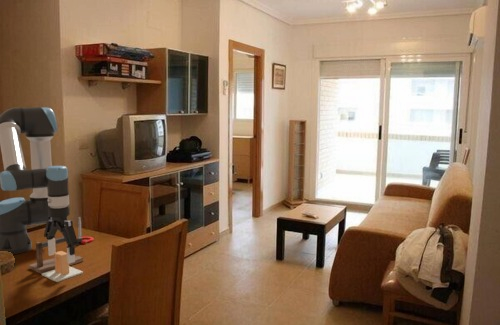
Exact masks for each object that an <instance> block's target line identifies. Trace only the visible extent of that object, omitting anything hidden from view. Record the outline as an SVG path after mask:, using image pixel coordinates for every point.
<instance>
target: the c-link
mask: <svg viewBox="0 0 500 325" xmlns="http://www.w3.org/2000/svg"><path fill="white" fill-rule="evenodd" d="M53 258H55V272H56V273H59V272H60V273H61V275H65V274H68V273H69V264H68V262H67V251H63V250H59V251H56V253H54V255H53Z"/></svg>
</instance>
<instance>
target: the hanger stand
mask: <svg viewBox="0 0 500 325" xmlns="http://www.w3.org/2000/svg"><path fill="white" fill-rule="evenodd" d="M65 242H66V240H65V238H64V236H62V237H59V238H55V245H57V244H61V243H65ZM43 248H48V240H47V241H44V242H41V241H37V242H35V251H36V262H35V263H32V264H28V268H29V269H30V270H31V271H34V272H36V273H38V274H41V275H42V273H45V272H48V271H51V270H55V258H54V257H51V258H47V259H45V260H44V258H43V256H44V255H43ZM81 262H84V257H81V256H79V255H77V254H75V262H73V263H70V264H69V266H70V267H71V266H72V265H76V264H79V263H81Z"/></svg>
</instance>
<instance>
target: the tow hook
mask: <svg viewBox="0 0 500 325" xmlns="http://www.w3.org/2000/svg"><path fill="white" fill-rule="evenodd" d="M77 222H78V226H77V227H78V228H77V229H78V233H77V236H78V237H76V238H77V241H78V245H79V244H81V245H86V244H87V243H91V242H93V241H95V240H94V239H95V238H94V237H92V236H82V221H81V216H79V217H78V221H77Z"/></svg>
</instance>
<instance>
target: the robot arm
mask: <svg viewBox="0 0 500 325" xmlns="http://www.w3.org/2000/svg"><path fill="white" fill-rule="evenodd" d="M57 132H58V123H57V117H56V115H55V112H54V111H53V109H52V108H50V107H42V106H40V107H39V106H38V107H36V106H35V107H33V106H31V107H30V106H29V107H28V106H27V107H17V106H16V107H11V108H9V109H7V110H5V111H3V112H2V113H0V152H1V157H2V164H3V170H4V171H0V188H1V190H2V191H4V192H5V191H13V192H14V191H21V190H31V189H32V193H31V194H30V195H29V199H27V200H26V199H25V198H24V197H21V196H19V197H11V198H7V199H4V200H1V201H0V251H8V252H11V253H13V255H18V254H22V253H25V252H28V251H30V250H31V249H32V248H33V245H32V244H33V243H32V240H31V237H30V236H29V234H28V231H27V229H28V228H27V226H33V225H34V226H35V225H42V224H46V225H45V229H44V233H43V237H44V238H46V239H47V241H48V246H47V249H48V250H47V252H48V254H47V255H48V257H51V256H54V253H56V252H57V250H56V248H57V247H56V245H57V244H55V239H56V234H57V231H59V232H60V233H61V234H62V237H64V238H65V240H66V245H67V246H66V253H67V262H68V264H70V263H73V262H75V255H76V254H75V253H76V249H75V247H76V246H79V244H78V241H77V238H78V237H77V235H76V230H75V228H74V226H73V225H74V223H73V220H72V219H71V220H68V216H70V214H71V212H70V206H69V205H70V194H69V193H70V192H69V173H68V172H69V170H68V167H67V166H66V165H53V162H52V146H51V140H52V139H53V138H54V137H55V136H54V134H56V133H57ZM20 134H25V138H26V139H27V140H29V148H30V165H31V169H27V166H26V162H25V157H24V152H23V146H22V142H21V138H20Z"/></svg>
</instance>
